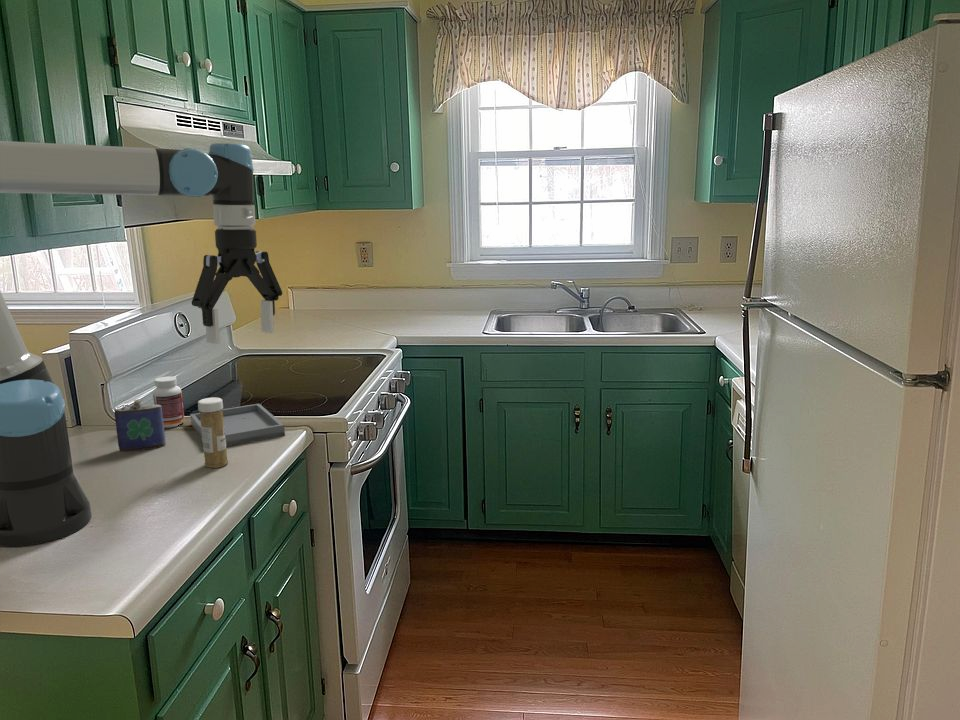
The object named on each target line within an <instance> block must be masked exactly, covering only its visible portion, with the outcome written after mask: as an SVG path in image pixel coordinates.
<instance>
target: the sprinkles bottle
mask: <svg viewBox="0 0 960 720" xmlns="http://www.w3.org/2000/svg"><path fill="white" fill-rule="evenodd" d="M197 408H198V409H197V410H198V411H199V412H198V413H200V419H201V433H202V438H201V441H202V449H203V454H204V466H205V467H207V468H209V469H218V468H222V467H225V466H226V465H228V464H229V459H228V451H227V446H226V439H225V429H224V422H223V412H222V411H223V409H224V403H223V399H222V398H220V397H205V398H202V399H200V400H198V401H197Z"/></svg>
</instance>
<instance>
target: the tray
mask: <svg viewBox="0 0 960 720" xmlns="http://www.w3.org/2000/svg"><path fill="white" fill-rule="evenodd" d="M222 412H223V417H224V418H225V419H223V422H224V429H225V439H226V447H230V446H237V445H242V444H246V443H252V442H253V443H254V442H258V441H263V440H269V439H274V438H280V437H285V436H286V430H285V424H284V423H283V422H281V421H280V420H279V419H278V418H277V417H275V415H273V414H272V412H270V411H268V410H267V408H265V407H264V406H263V405H262V404H261V403H255V404H254V403H253V404H249V405H242V406H236V407H229V408H223V411H222ZM189 415H190V425H191V424H192V425H191V427H192V428H193V429H194V430H195V432H197V433H196V434H198V436H199V437H200V438H201V439H202V433H201V419H200V413H199V412H198V413H192V414H189ZM228 418H229V419H228ZM238 418H239V419H238ZM242 418H246V419H242ZM248 418H249V419H248Z"/></svg>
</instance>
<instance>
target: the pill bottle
mask: <svg viewBox="0 0 960 720" xmlns="http://www.w3.org/2000/svg"><path fill="white" fill-rule="evenodd" d="M177 384H178V380H177V377H176V376H173V375H172V376H161V377H157V378H155V379H154V385H155V388H154V389H153V391H152V398H153V405H157V404H158V405H161V406H162V416H163V424H164V429H170V428H176V427H179V426H180V425H179V424H180V422H181V420H182V419H183V418H184V419H185V412H184V403H183V401H184V400H183V394H182V393H183V392H182V389H181V387H180V386H178V385H177ZM178 425H179V426H178Z"/></svg>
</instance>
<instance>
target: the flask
mask: <svg viewBox="0 0 960 720" xmlns="http://www.w3.org/2000/svg"><path fill="white" fill-rule="evenodd" d="M133 402H134V404H132V405H127V406H125V405H123V406H122V407H120V408H116V409H114V421H115V427H116V429H115V430H116V434H117V435H116V437H117V443H118V445H117V446H118V450H119V452H120V453H121V452H122V453H126V452H127V453H128V452H136V451H142V450H149V449H155V448H156V449H157V448H160V447H161V448H162V447H165V446H166V443H167V441H166V433H165V428H164V424H163V416H162V406H161V405H158V404H157V405H154V404H151V405H143V406H142V404H141V402H142V399H141V398H138V399H135V400H133Z"/></svg>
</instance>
